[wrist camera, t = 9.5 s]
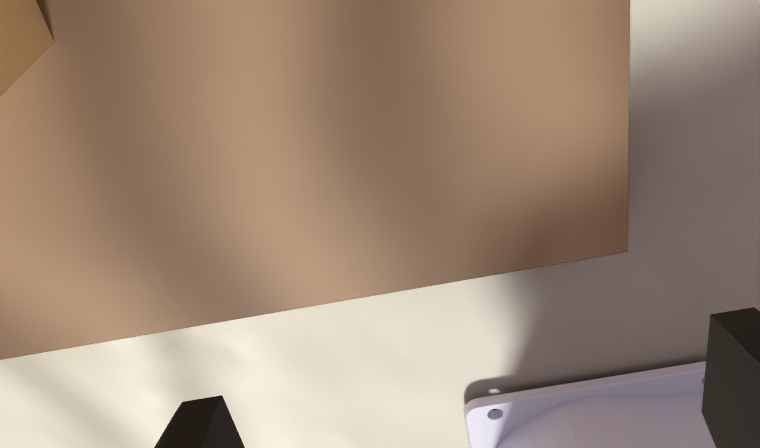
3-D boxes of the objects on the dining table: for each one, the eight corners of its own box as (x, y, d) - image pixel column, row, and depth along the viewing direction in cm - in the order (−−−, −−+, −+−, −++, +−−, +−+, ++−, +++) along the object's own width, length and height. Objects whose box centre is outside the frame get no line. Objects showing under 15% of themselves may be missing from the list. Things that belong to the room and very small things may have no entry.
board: (604, -583, 12) (635, -622, 11) (610, 221, 21) (627, 251, 19) (-608, -289, 13) (-707, -293, 12) (-119, 348, 22) (-147, 384, 21)
